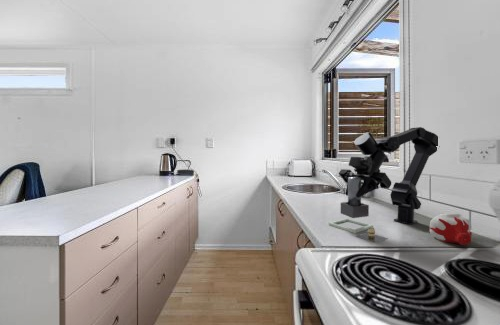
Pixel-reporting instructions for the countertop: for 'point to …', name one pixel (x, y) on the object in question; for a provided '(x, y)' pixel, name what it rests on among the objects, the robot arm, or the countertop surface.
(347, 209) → the grey cylinder in socket
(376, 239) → the base
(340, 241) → the countertop surface
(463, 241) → the white red flame ovoid
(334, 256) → the countertop surface
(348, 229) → the tray
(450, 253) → the countertop surface
